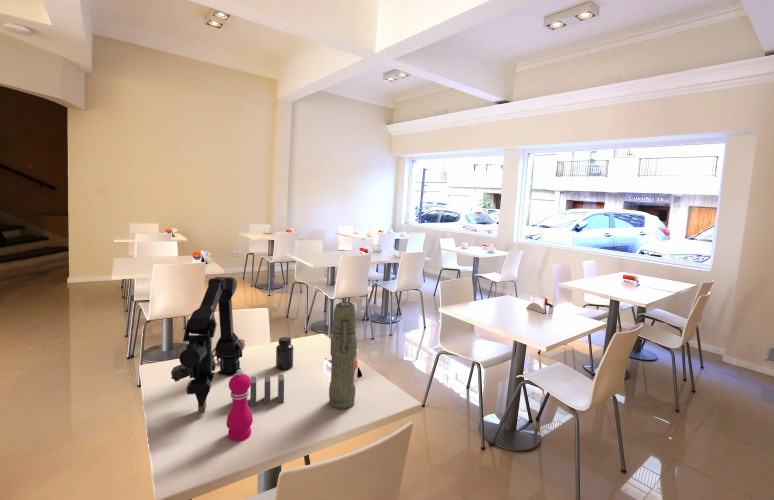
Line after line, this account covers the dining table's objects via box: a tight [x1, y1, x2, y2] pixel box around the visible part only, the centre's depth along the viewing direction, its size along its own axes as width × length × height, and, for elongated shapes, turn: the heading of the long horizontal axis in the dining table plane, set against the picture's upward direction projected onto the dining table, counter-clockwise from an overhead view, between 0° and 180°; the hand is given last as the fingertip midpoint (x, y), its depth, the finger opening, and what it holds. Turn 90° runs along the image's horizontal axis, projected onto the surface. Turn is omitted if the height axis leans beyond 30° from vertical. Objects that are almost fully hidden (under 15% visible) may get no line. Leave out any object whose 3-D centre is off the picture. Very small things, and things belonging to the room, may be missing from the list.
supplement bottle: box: [275, 336, 294, 371], centre depth 167 cm, size 7×7×12 cm
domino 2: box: [249, 375, 257, 407], centre depth 138 cm, size 2×5×8 cm, turn 17°
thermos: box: [328, 301, 358, 410], centre depth 139 cm, size 9×12×35 cm
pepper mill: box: [225, 368, 254, 442], centre depth 118 cm, size 7×7×20 cm
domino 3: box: [263, 374, 271, 405], centre depth 140 cm, size 2×5×8 cm, turn 17°
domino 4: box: [277, 373, 285, 404], centre depth 141 cm, size 2×5×8 cm, turn 17°
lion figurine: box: [212, 338, 246, 364], centre depth 171 cm, size 15×5×9 cm, turn 117°
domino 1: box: [197, 399, 207, 415], centre depth 130 cm, size 2×5×8 cm, turn 17°
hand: (202, 401), depth 130 cm, fingers closed on domino 1, 5 cm apart
